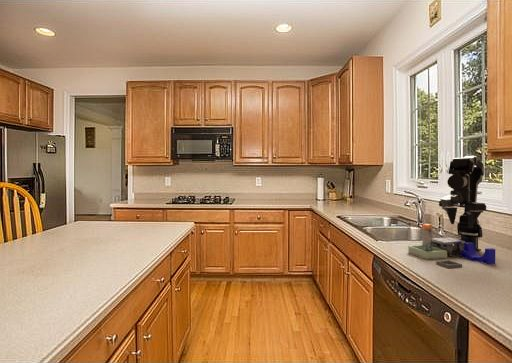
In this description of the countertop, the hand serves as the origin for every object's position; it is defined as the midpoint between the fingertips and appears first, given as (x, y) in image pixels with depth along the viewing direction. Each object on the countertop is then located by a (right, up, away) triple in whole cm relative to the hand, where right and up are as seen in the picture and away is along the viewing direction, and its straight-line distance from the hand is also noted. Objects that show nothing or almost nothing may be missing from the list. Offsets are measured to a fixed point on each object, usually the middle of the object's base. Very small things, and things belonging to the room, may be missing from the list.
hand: (461, 225), depth 139 cm
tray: (-12, -13, +4) cm, 18 cm away
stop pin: (-12, -12, +4) cm, 18 cm away
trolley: (-2, -13, +7) cm, 15 cm away
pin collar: (-12, -14, -11) cm, 21 cm away
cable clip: (+4, -14, -5) cm, 15 cm away
